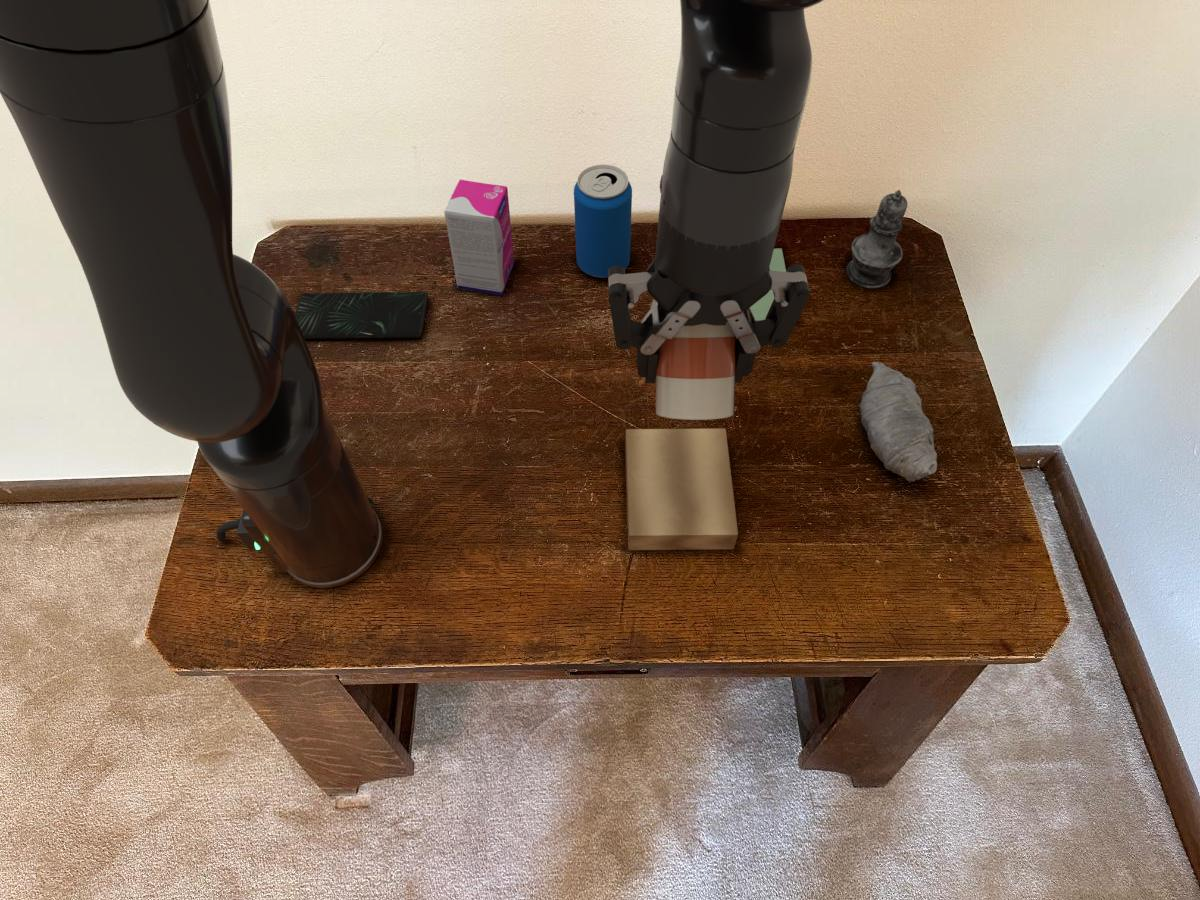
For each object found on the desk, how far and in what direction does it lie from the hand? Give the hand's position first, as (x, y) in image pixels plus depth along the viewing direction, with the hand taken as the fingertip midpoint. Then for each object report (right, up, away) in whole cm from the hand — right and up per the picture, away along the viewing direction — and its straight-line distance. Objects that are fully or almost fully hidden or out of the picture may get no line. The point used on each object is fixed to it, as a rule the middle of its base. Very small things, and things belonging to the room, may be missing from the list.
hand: (692, 374), depth 62 cm
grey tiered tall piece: (+25, +15, +34) cm, 45 cm away
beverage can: (-7, +17, +35) cm, 39 cm away
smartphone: (-35, +9, +30) cm, 47 cm away
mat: (+9, +14, +32) cm, 36 cm away
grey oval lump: (+22, -5, +20) cm, 30 cm away
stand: (0, -10, +16) cm, 19 cm away
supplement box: (-21, +15, +34) cm, 42 cm away
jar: (0, +3, +1) cm, 3 cm away
